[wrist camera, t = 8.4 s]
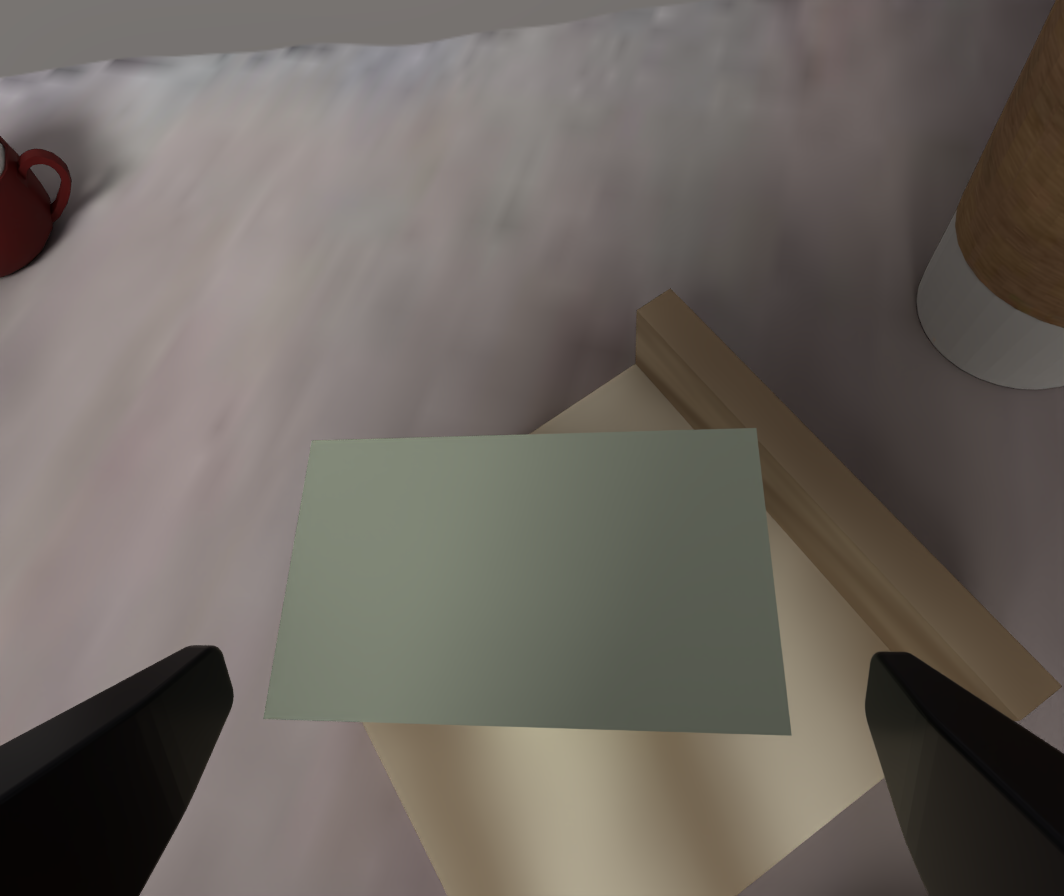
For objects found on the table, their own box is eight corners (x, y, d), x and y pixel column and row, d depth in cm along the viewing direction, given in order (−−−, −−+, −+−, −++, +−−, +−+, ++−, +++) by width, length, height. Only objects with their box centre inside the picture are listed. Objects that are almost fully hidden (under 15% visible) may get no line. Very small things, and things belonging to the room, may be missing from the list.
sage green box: (694, 731, 17) (791, 734, 7) (468, 723, 18) (263, 719, 8) (685, 587, 18) (755, 420, 8) (476, 587, 19) (312, 433, 9)
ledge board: (534, 1041, 16) (506, 1136, 12) (310, 594, 21) (243, 566, 17) (970, 695, 17) (1062, 686, 14) (663, 359, 22) (670, 288, 19)
